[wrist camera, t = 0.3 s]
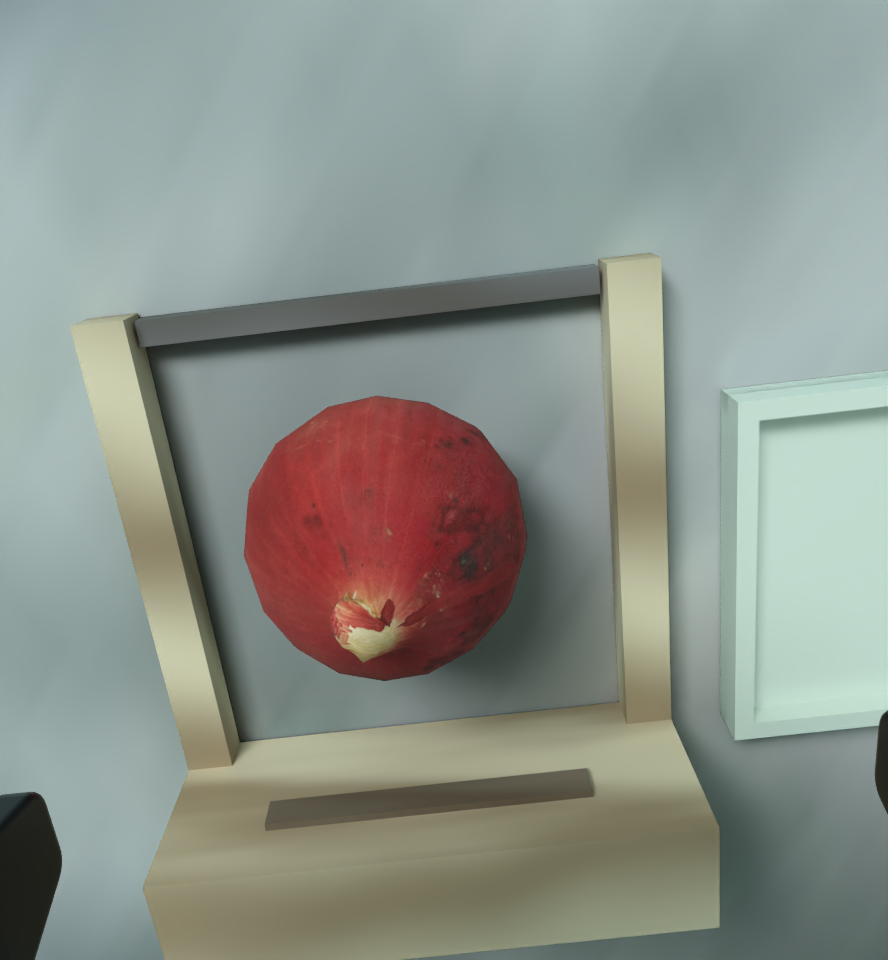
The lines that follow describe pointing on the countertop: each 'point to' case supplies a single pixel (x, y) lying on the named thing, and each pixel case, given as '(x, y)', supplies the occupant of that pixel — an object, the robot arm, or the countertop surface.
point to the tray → (804, 556)
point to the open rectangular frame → (424, 746)
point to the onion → (384, 537)
